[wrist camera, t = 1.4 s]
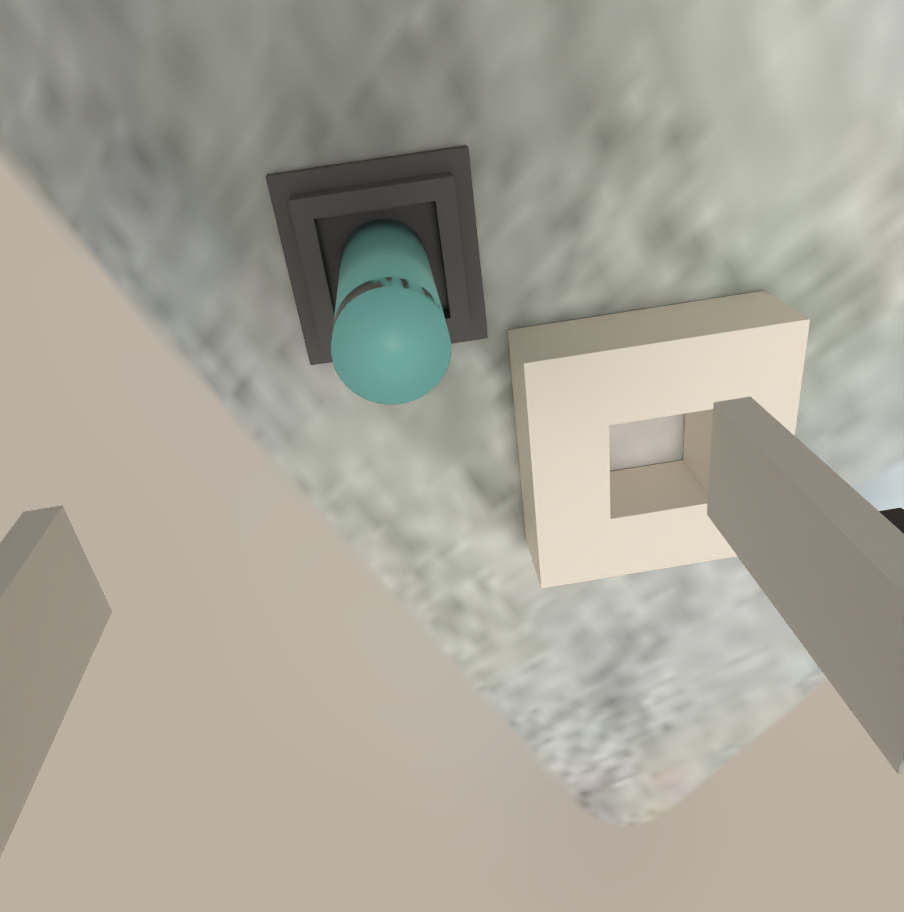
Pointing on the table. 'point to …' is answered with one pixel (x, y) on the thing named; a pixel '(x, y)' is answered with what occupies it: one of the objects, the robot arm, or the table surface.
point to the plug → (388, 316)
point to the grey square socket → (369, 198)
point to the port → (633, 399)
